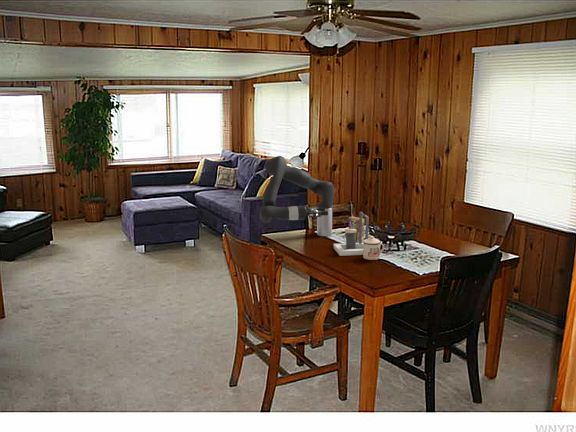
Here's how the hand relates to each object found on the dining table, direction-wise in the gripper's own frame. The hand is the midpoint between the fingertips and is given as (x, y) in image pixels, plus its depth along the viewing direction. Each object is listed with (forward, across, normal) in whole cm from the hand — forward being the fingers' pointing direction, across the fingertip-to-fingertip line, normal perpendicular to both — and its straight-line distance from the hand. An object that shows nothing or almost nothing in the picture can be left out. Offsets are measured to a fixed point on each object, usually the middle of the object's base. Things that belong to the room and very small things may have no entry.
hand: (326, 211), depth 304 cm
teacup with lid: (+22, -14, +23) cm, 35 cm away
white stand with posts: (+15, 0, +23) cm, 28 cm away
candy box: (+21, +16, +24) cm, 35 cm away
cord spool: (+14, 0, +23) cm, 27 cm away
